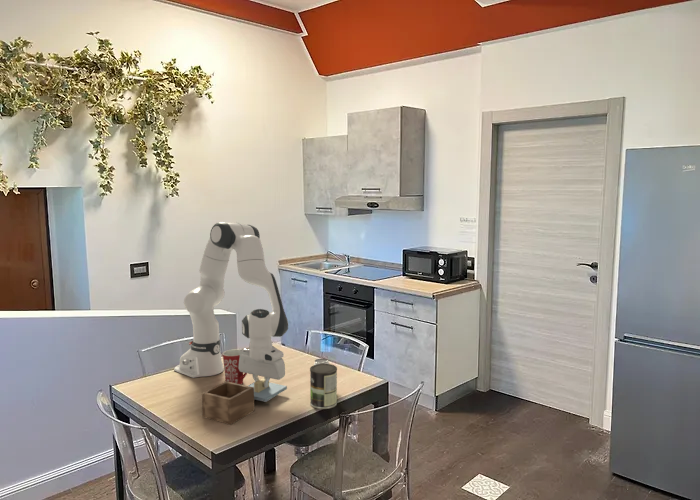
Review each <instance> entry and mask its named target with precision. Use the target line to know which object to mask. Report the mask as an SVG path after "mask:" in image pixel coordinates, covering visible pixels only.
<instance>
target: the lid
mask: <svg viewBox="0 0 700 500" xmlns="http://www.w3.org/2000/svg"><path fill="white" fill-rule="evenodd" d="M265 380H266V379H264V377H262V378H261V379H259V381H257V382H255V381H254V382H252V383H250V384H249V385H247V386H250V387H254V401H255V400H256V401H259V402H264V403H265V402H268V401H270V400H271V399H273V398H274V397H276V396H278V395H279V394H281V393H283V392H285V391H286V390H287V389H288V385H283V384H278V383H274V382H270V381H269V382H268V387H266V388H265V387H262V383H263V382H265Z"/></svg>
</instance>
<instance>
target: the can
mask: <svg viewBox="0 0 700 500" xmlns="http://www.w3.org/2000/svg"><path fill="white" fill-rule="evenodd" d="M317 364H330V361H329V359H327V358H316V359H315V360H314V363H313V365H317Z"/></svg>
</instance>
